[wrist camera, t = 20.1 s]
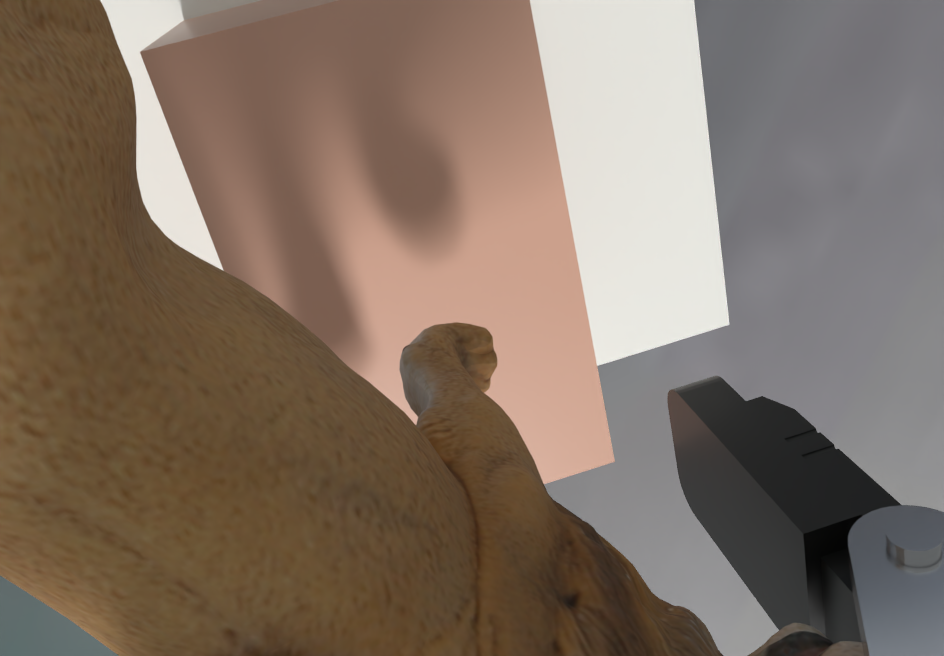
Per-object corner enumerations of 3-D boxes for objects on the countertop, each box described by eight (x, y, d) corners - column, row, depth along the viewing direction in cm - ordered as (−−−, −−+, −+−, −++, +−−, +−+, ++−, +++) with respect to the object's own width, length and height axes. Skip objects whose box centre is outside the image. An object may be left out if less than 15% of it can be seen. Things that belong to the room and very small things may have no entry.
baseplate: (649, -184, 18) (673, -193, 17) (708, 307, 24) (729, 324, 23) (-101, 7, 17) (-127, 10, 16) (137, 484, 22) (129, 511, 21)
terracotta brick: (447, -48, 18) (521, -48, 12) (530, 333, 22) (614, 461, 16) (184, 20, 17) (139, 52, 12) (318, 398, 21) (331, 551, 16)
